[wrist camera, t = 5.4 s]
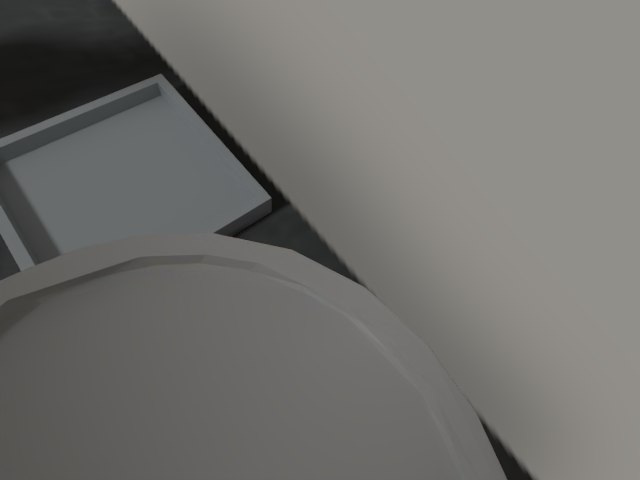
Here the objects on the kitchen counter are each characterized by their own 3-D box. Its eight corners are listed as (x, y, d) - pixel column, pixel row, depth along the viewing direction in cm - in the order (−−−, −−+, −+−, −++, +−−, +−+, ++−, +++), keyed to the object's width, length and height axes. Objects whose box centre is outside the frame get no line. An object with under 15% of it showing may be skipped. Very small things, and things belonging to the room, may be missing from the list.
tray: (-24, 173, 37) (-43, 156, 35) (166, 91, 45) (161, 73, 43) (69, 337, 31) (53, 329, 29) (271, 212, 39) (271, 197, 36)
